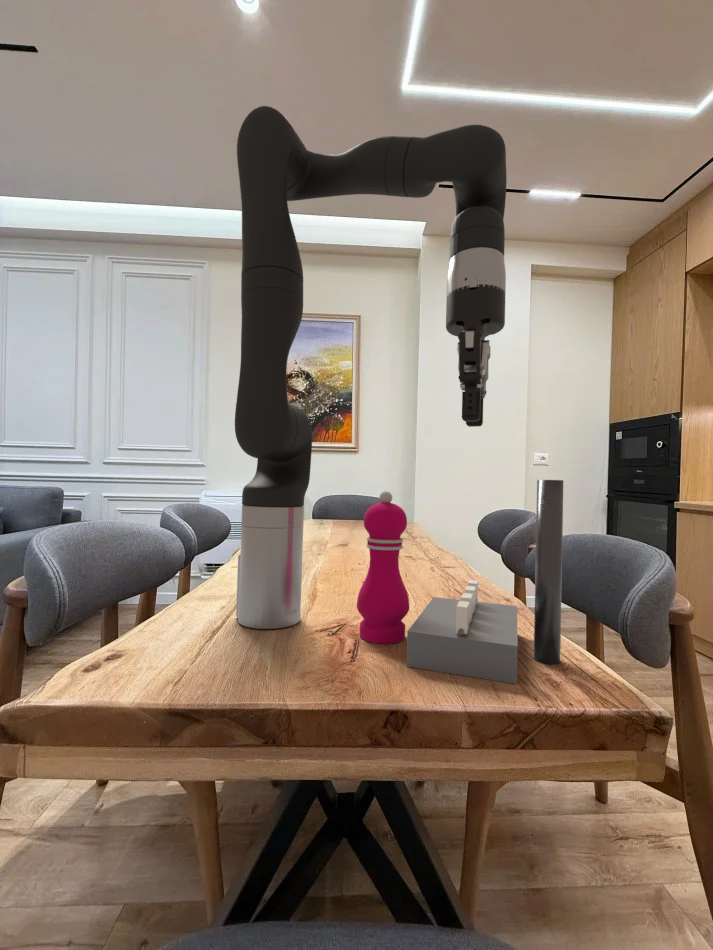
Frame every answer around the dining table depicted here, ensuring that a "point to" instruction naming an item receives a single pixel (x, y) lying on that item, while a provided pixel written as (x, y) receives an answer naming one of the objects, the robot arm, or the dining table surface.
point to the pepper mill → (383, 575)
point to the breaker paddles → (466, 607)
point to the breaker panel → (465, 641)
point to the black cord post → (548, 571)
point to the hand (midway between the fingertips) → (472, 422)
